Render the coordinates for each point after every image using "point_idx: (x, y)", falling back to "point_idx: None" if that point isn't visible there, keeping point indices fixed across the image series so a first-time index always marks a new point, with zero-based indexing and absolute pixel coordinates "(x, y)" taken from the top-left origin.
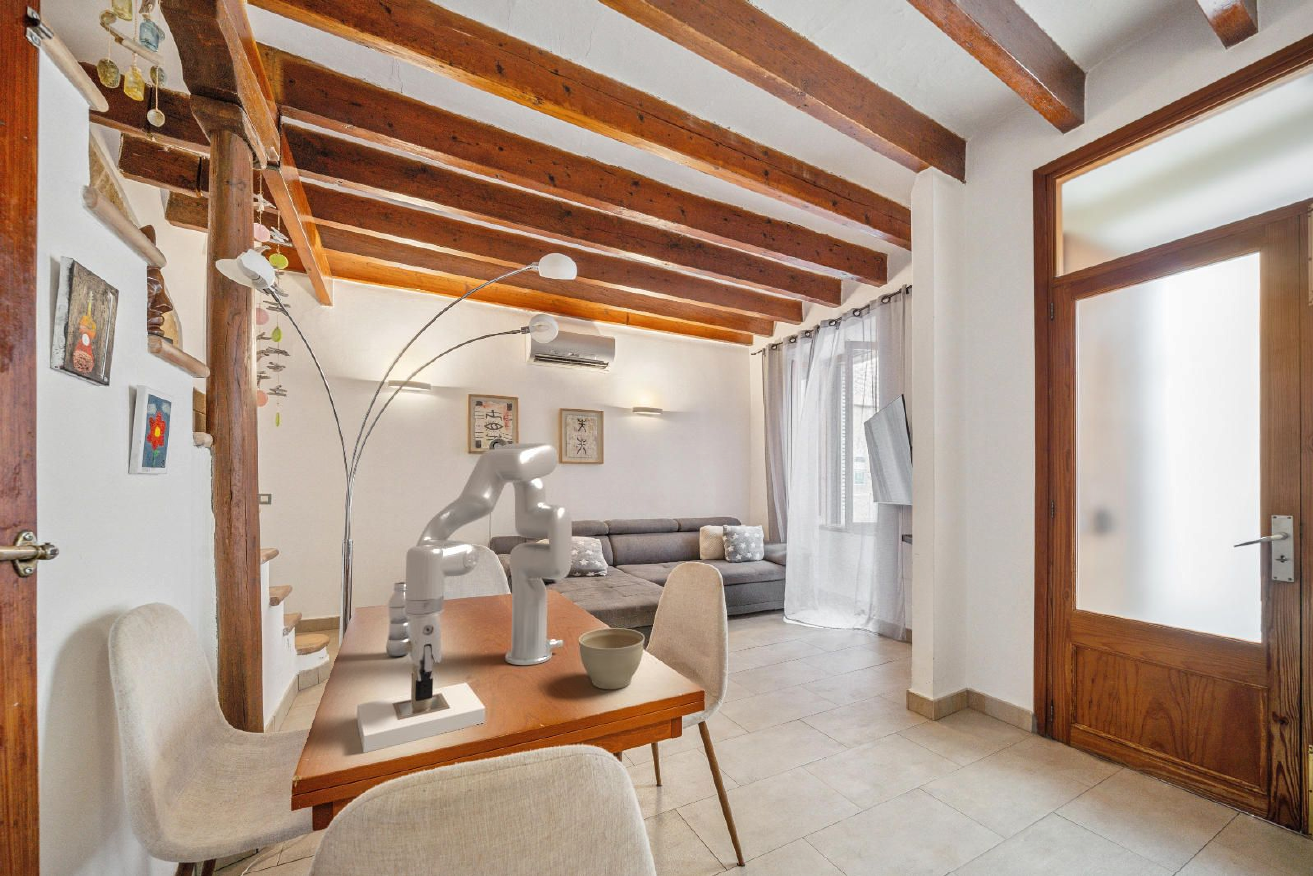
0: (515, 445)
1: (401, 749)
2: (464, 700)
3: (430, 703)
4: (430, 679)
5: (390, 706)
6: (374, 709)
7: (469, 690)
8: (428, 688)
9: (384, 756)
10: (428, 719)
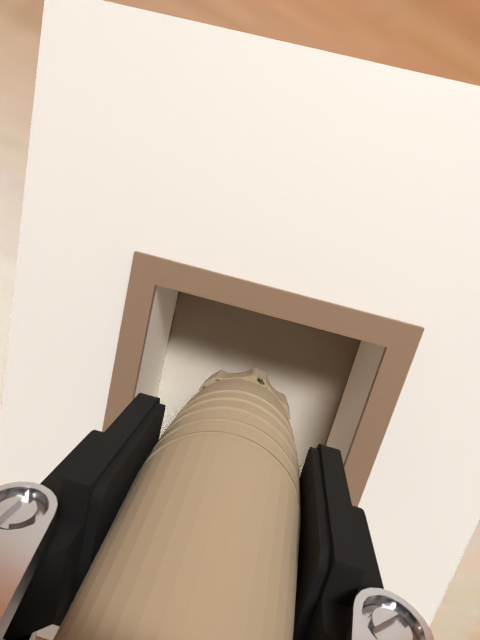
0: None
1: (459, 571)
2: (378, 182)
3: (266, 392)
4: (354, 583)
5: None
6: None
7: (225, 51)
8: (373, 553)
9: (458, 633)
10: (465, 492)
